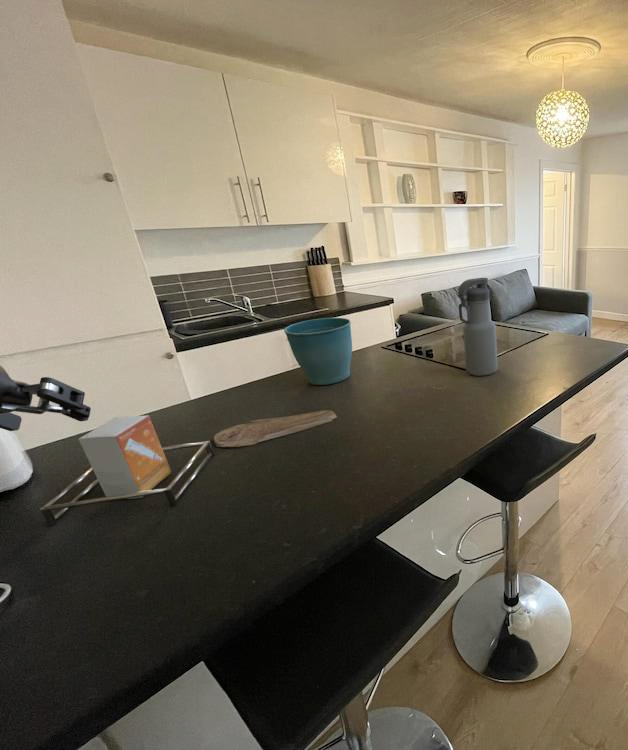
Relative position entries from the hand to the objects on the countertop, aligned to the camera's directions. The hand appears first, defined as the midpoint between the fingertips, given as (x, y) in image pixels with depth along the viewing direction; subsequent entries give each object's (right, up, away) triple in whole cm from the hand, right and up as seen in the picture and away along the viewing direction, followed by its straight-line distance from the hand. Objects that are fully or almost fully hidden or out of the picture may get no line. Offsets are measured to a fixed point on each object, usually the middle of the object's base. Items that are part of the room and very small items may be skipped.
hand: (52, 419), depth 60 cm
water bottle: (+61, +8, +66) cm, 90 cm away
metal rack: (-2, -15, +17) cm, 23 cm away
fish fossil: (+14, -6, +37) cm, 40 cm away
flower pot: (+14, +5, +65) cm, 67 cm away
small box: (-2, -15, +17) cm, 23 cm away
